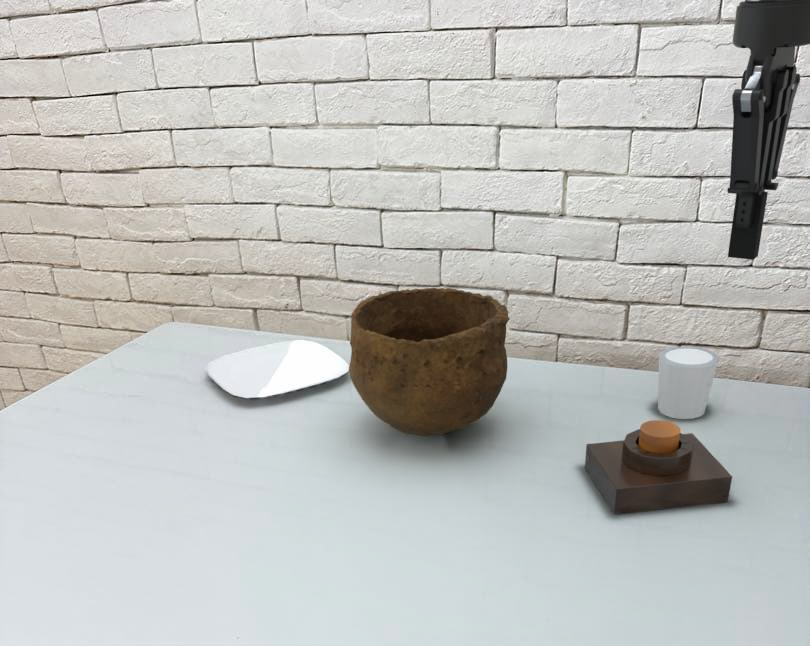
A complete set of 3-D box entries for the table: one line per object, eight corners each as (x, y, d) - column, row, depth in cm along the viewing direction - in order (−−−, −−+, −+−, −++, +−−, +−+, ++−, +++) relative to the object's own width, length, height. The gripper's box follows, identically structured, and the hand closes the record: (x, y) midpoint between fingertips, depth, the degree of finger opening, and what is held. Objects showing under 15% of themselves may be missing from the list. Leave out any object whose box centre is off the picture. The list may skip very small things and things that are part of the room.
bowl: (540, 434, 102) (545, 312, 94) (405, 479, 95) (398, 351, 86) (454, 384, 116) (451, 274, 108) (330, 420, 108) (317, 304, 100)
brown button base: (688, 457, 96) (694, 416, 93) (727, 502, 87) (735, 458, 85) (584, 468, 95) (587, 427, 92) (613, 514, 86) (618, 471, 84)
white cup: (722, 410, 105) (731, 356, 101) (684, 426, 102) (692, 371, 98) (678, 393, 110) (685, 341, 106) (641, 408, 107) (646, 354, 103)
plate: (241, 414, 111) (239, 402, 110) (196, 371, 124) (194, 360, 123) (363, 381, 118) (362, 370, 117) (309, 344, 132) (308, 333, 131)
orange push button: (669, 435, 90) (671, 418, 89) (684, 453, 87) (686, 435, 86) (632, 439, 90) (634, 422, 89) (646, 457, 87) (648, 438, 86)
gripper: (762, -7, 85) (729, 238, 98) (714, 3, 76) (685, 269, 89) (843, -11, 81) (797, 244, 94) (802, -2, 72) (758, 277, 85)
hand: (742, 256), depth 91 cm, fingers closed
